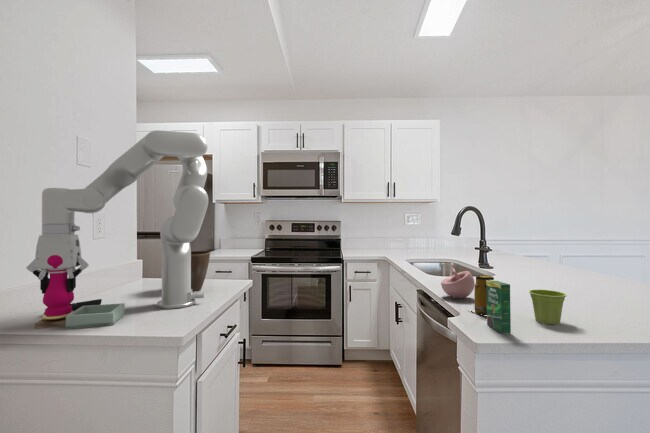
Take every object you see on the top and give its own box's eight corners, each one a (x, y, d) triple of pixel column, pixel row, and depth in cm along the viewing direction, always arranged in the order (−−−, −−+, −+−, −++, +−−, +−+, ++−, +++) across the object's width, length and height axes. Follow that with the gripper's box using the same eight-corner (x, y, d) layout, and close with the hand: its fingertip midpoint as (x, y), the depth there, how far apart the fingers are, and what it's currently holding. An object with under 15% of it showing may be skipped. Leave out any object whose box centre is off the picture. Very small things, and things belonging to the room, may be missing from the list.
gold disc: (77, 315, 103) (77, 309, 103) (66, 322, 96) (66, 316, 96) (49, 317, 101) (49, 311, 101) (36, 324, 94) (36, 318, 94)
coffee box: (485, 324, 97) (485, 279, 97) (495, 324, 97) (495, 279, 97) (500, 334, 89) (500, 284, 89) (511, 333, 89) (511, 284, 89)
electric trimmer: (103, 308, 116) (103, 299, 116) (45, 318, 104) (46, 307, 104) (99, 306, 118) (99, 297, 118) (42, 316, 106) (43, 305, 106)
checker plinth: (79, 317, 103) (79, 313, 103) (67, 325, 96) (67, 321, 96) (48, 319, 101) (48, 315, 101) (34, 328, 93) (34, 323, 93)
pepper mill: (35, 316, 96) (36, 246, 96) (59, 309, 103) (59, 244, 103) (57, 317, 94) (57, 246, 94) (80, 310, 101) (80, 244, 102)
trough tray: (124, 314, 107) (124, 303, 107) (113, 325, 96) (113, 312, 96) (82, 317, 104) (82, 305, 104) (65, 329, 93) (65, 316, 93)
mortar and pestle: (438, 294, 136) (438, 265, 136) (469, 295, 134) (469, 266, 134) (444, 301, 124) (444, 270, 124) (478, 302, 122) (478, 271, 122)
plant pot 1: (209, 293, 137) (209, 254, 137) (169, 295, 133) (169, 255, 133) (211, 286, 151) (211, 250, 151) (175, 288, 147) (175, 251, 147)
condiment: (484, 309, 113) (484, 273, 113) (506, 316, 105) (506, 278, 105) (467, 311, 110) (467, 275, 111) (488, 318, 103) (488, 279, 103)
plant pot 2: (523, 320, 100) (523, 291, 100) (536, 315, 106) (536, 287, 106) (559, 329, 93) (559, 297, 93) (571, 322, 98) (571, 293, 98)
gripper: (96, 229, 105) (96, 287, 105) (30, 230, 100) (30, 291, 100) (87, 230, 97) (87, 292, 97) (15, 231, 92) (15, 296, 92)
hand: (58, 291), depth 98 cm, fingers closed on pepper mill, 5 cm apart
